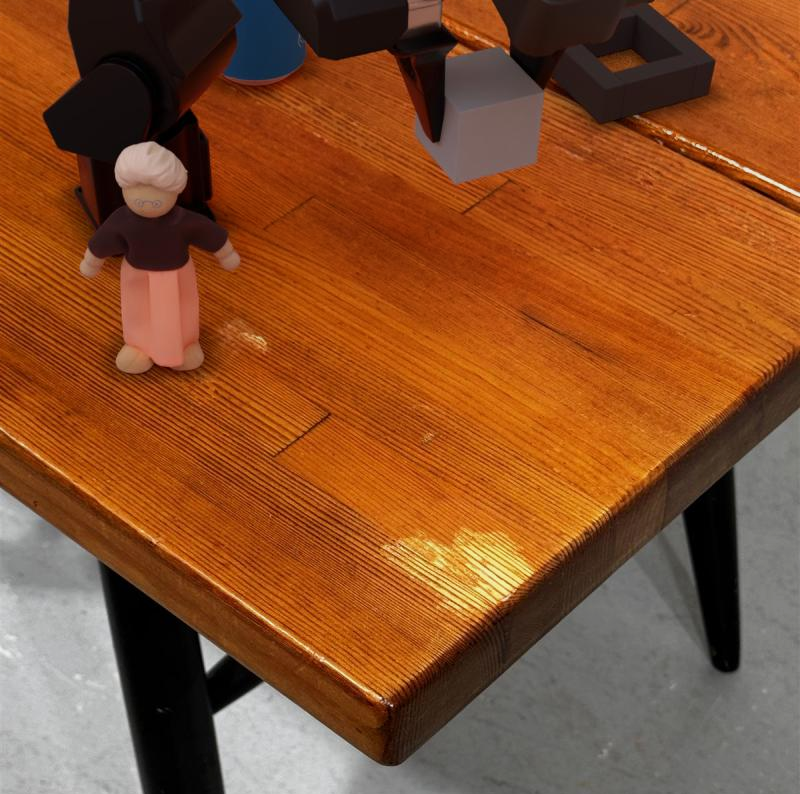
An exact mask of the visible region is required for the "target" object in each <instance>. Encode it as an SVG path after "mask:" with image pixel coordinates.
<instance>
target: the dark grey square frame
mask: <svg viewBox="0 0 800 794" xmlns="http://www.w3.org/2000/svg"><path fill="white" fill-rule="evenodd" d="M630 49H632V50H634V51H635V52H636V53H637V54H638V55H639V56H640V57H641V58H643V60H645V61H646V62H647V63H644V64H640V65H636V66H631V67H628V68H625V69H621V70H616V71H612V70H611V69H609V67H608V66H606V65H605V64H604V63H603V62H602V61H601V60H600V59H599V57H603V56H607V55H611V54H615V53H618V52H619V53H620V52H622V51H626V50H630ZM716 63H717V62H716V58H714V57H713V56H712V55H710V54H709V53H708V52H707V51H706V50H705V49H703V48H702V47H701V46H700V45H699V44H698V43H696V42H695V41H694V40H692V39H691V38H690V37H689V36H688V35H687V34H685V33H684V32H683V31H681V30H680V29H679V28H678V27H677V26H675V25H674V23H672V22H671V21H669V19H667V18H666V17H665V16H663V14H662V13H660V12H659V11H657V10H656V9H655V8H654V7H653V6H652V5H650V3H648V4H644V5H639V6H635V7H631V8H626V9H624V11H623V13H622V15H621V17H620V20H619V22H618V24H617V26H616V29H615V31H614V33H613V35H612V37H611V38H610V39H608V40H607V41H605V42H602V43H598V44H592V43H585V44H581V45H576V46H572V47H568V48H567V49H566V50H565V52H564V54H563V56H562V57H561V59H560V61H559V63H558V64H557V67H556V68H555V70H554V72H553V74H552V76H551V78H552V79H553V80H554V81H555V82H556V83H557V84H558V85H559V86H560V87H561V88H562V89H564V91H565V92H567V94H569V95H570V96H571V98H573V99H574V100H575V102H577V104H579V105H580V106H581V107H582V108H583V109H584V110H585V111H586V112H587V113H588V114H589V115H590V116H592V117H593V118H594V119H595V120H596V121H597V123H598V124H605V123H608V122H613V121H616V120H619V119H624V118H627V117H631V116H635V115H638V114H643V113H645V112H646V113H647V112H649V111H653V110H657V109H660V108H665V107H668V106H672V105H675V104H678V103H682V102H686V101H689V100H693V99H696V98H701V97H704V96H707V95H710V91H711V85H712V81H713V75H714V71H715V68H716V67H715V66H716Z"/></svg>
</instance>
